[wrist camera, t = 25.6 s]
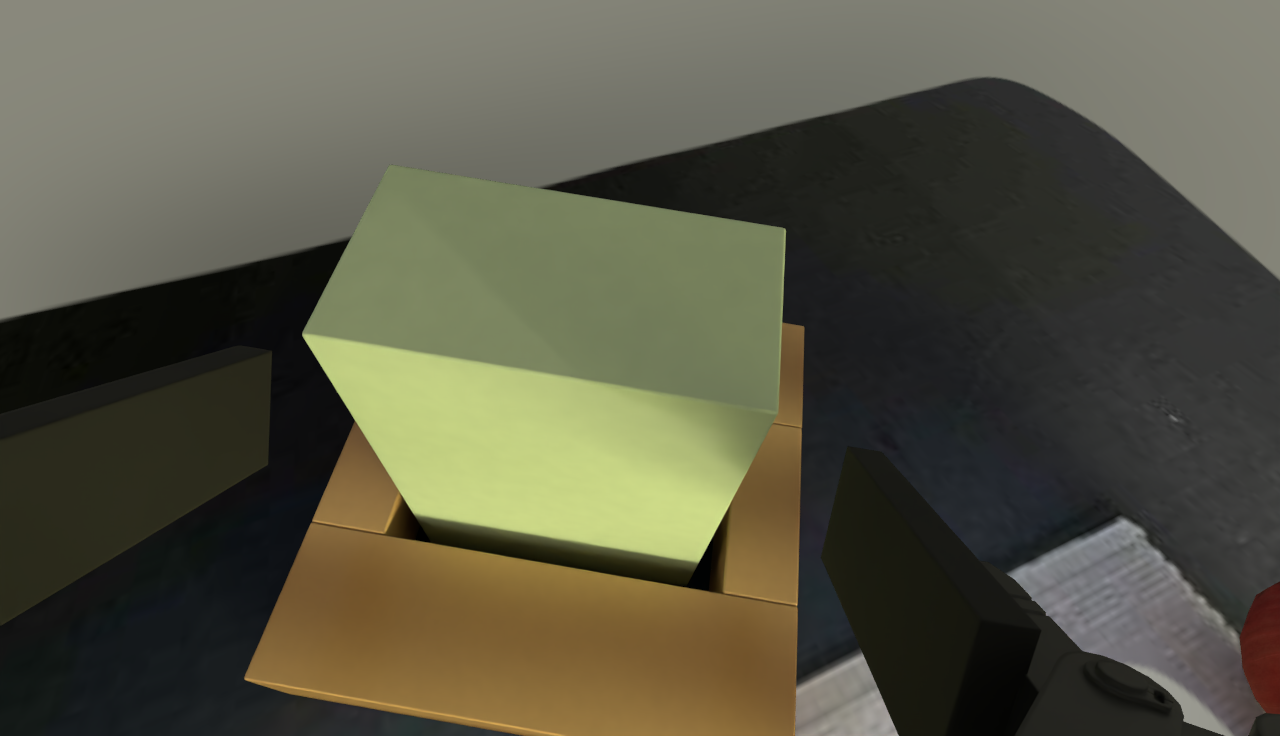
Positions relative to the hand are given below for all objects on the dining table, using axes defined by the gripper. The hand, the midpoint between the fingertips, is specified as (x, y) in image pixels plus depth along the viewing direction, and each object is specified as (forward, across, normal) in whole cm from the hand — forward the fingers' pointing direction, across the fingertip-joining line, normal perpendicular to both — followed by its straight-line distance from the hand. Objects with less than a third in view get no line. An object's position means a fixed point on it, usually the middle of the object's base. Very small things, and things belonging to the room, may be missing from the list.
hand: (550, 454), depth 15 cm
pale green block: (+7, 0, -4) cm, 8 cm away
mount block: (+7, 0, -4) cm, 8 cm away
